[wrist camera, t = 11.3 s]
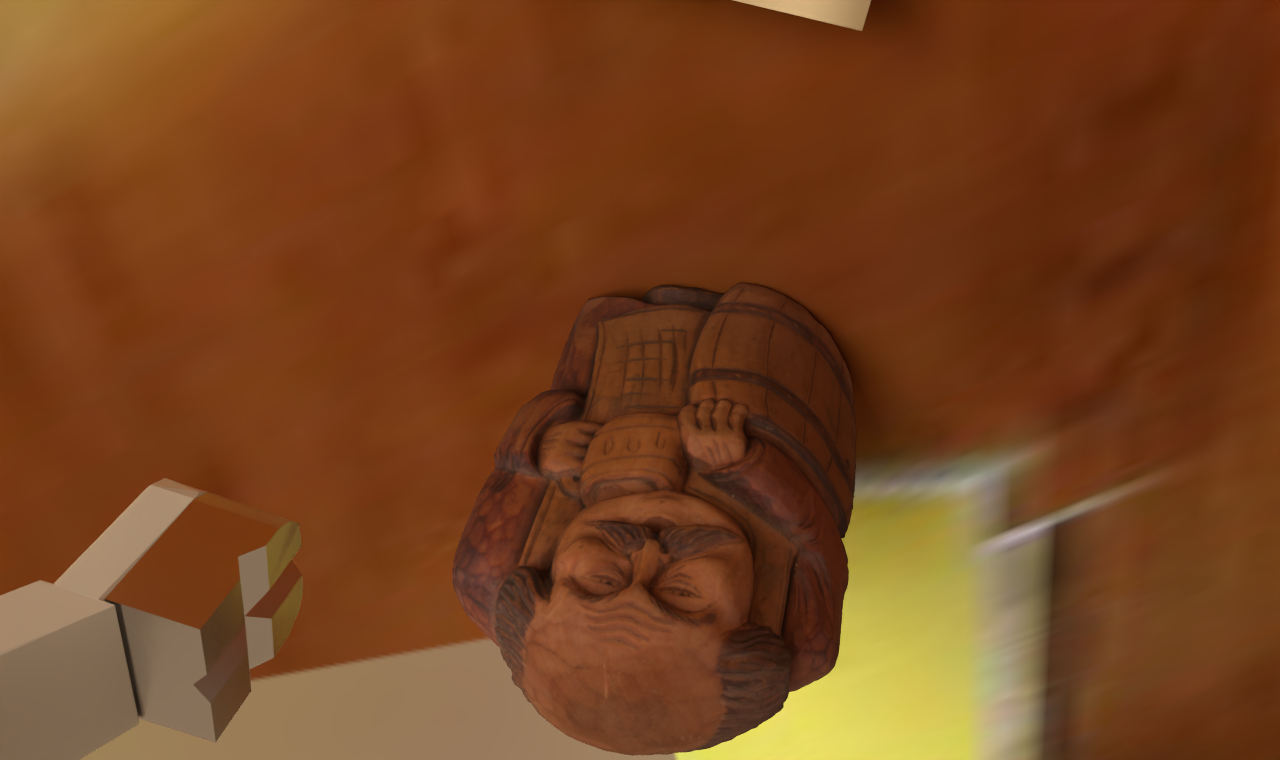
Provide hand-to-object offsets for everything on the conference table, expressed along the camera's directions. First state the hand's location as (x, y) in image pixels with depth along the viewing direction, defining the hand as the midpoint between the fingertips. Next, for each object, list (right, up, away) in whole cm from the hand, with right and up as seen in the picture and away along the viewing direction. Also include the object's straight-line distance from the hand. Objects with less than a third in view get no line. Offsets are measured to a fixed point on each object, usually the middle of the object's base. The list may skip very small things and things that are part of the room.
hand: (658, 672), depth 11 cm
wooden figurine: (+3, +4, +31) cm, 32 cm away
